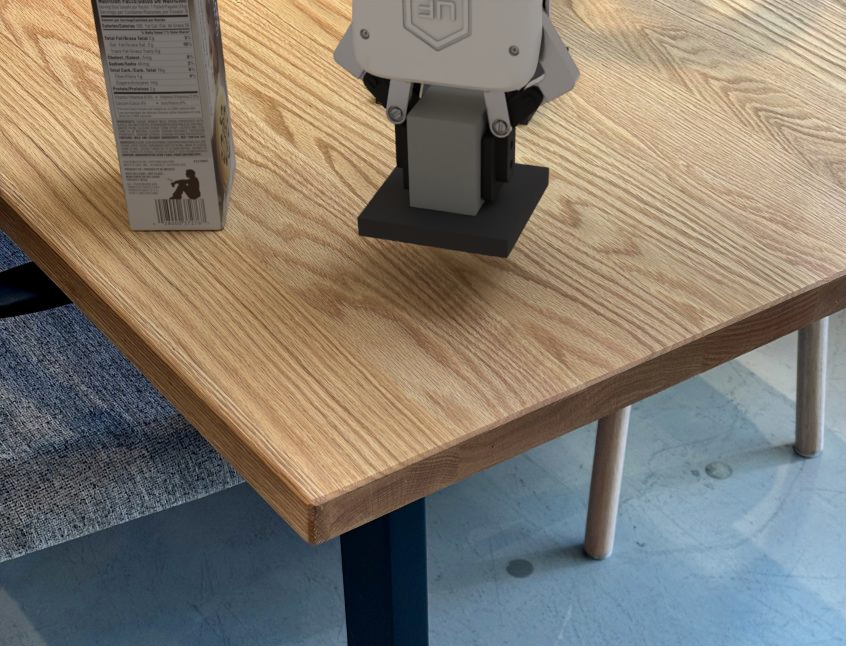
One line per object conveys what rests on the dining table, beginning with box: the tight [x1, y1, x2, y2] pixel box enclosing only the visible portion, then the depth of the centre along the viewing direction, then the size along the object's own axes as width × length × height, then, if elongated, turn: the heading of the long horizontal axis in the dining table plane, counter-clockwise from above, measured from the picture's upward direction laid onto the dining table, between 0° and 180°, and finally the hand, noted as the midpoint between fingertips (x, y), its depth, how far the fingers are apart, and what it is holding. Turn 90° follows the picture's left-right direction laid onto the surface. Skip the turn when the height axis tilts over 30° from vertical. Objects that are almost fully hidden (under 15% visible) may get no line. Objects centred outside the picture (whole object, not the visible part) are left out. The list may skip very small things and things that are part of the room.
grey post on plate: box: [356, 85, 550, 259], centre depth 77 cm, size 9×12×7 cm
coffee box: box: [90, 0, 237, 231], centre depth 84 cm, size 9×6×16 cm
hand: (455, 181), depth 78 cm, fingers closed on grey post on plate, 4 cm apart
